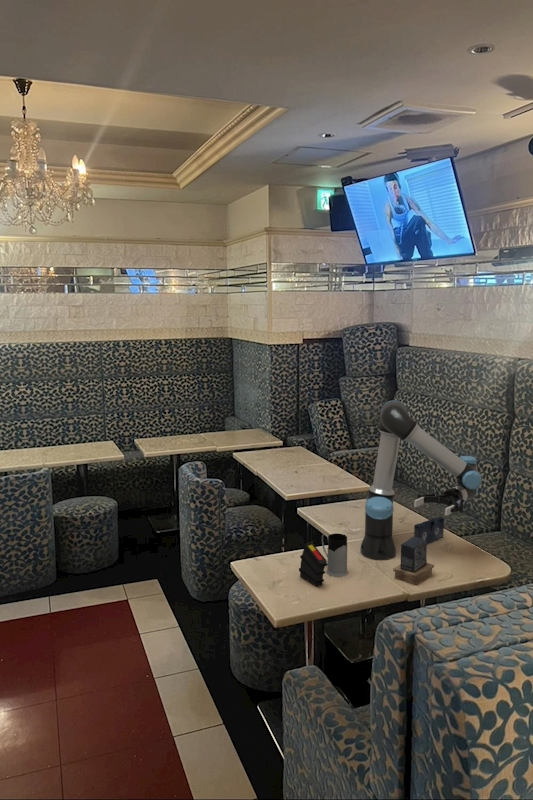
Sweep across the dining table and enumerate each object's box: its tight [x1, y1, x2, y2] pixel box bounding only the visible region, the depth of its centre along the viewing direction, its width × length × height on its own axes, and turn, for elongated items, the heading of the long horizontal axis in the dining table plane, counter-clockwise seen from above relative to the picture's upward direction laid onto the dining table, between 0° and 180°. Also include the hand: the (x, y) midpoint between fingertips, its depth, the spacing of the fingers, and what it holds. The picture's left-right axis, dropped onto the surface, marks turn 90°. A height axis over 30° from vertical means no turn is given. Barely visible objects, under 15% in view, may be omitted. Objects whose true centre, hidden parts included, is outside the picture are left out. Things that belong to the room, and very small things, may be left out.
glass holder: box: [321, 533, 349, 578], centre depth 249 cm, size 9×14×15 cm, turn 33°
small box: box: [400, 536, 428, 573], centre depth 243 cm, size 11×6×10 cm, turn 139°
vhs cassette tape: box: [413, 516, 445, 545], centre depth 278 cm, size 18×3×10 cm, turn 126°
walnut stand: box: [392, 562, 435, 586], centre depth 244 cm, size 10×14×4 cm
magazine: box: [298, 541, 328, 588], centre depth 239 cm, size 4×13×15 cm, turn 34°
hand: (430, 507), depth 247 cm, fingers open, 13 cm apart
